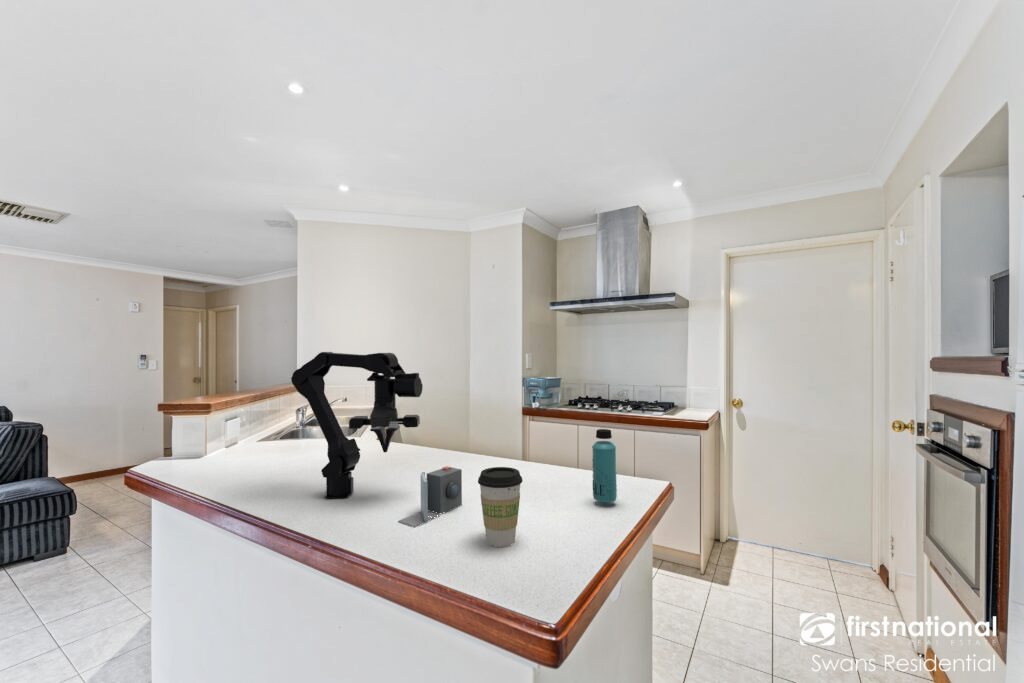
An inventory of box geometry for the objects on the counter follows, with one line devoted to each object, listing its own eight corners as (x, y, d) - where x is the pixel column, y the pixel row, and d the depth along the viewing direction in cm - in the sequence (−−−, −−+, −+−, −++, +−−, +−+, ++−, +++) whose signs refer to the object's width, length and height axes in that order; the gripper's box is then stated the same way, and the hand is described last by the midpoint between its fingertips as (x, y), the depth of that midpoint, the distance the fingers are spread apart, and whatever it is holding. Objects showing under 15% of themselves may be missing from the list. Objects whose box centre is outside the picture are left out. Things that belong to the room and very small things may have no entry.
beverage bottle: (619, 501, 122) (618, 428, 122) (614, 510, 116) (613, 432, 116) (595, 498, 125) (595, 426, 125) (589, 506, 119) (588, 430, 119)
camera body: (398, 522, 109) (397, 480, 109) (448, 501, 123) (447, 464, 123) (416, 528, 105) (415, 484, 106) (465, 506, 120) (465, 467, 120)
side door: (424, 520, 108) (424, 481, 108) (420, 508, 116) (420, 472, 117) (429, 520, 108) (429, 481, 109) (425, 508, 117) (424, 471, 117)
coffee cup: (489, 554, 91) (489, 481, 92) (471, 537, 100) (470, 469, 100) (531, 544, 96) (530, 474, 96) (510, 528, 105) (509, 464, 105)
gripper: (342, 400, 118) (343, 460, 118) (414, 399, 120) (414, 458, 119) (354, 396, 129) (354, 450, 129) (419, 395, 131) (420, 448, 131)
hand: (385, 452), depth 127 cm, fingers closed
